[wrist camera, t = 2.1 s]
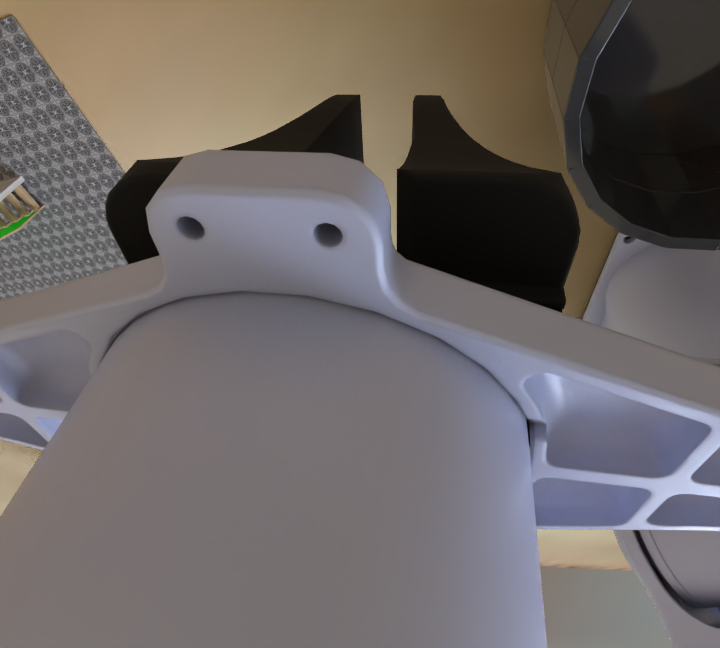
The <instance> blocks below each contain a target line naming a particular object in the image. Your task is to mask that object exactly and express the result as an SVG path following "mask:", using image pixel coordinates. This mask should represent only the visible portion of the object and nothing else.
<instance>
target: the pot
mask: <svg viewBox="0 0 720 648" xmlns="http://www.w3.org/2000/svg"><path fill="white" fill-rule="evenodd" d="M544 66H545V75H546V81H547V91H548V96H549V100H550V104H551V108H552V112H553V116H554V120H555V124H556V128H557V132H558V135H559V139H560V143H561V147H562V151H563V155H564V159H565V163H566V167H567V170H568V172H569V174H570V176H571V178H572V180H573V182H574V183H575V185H576V187H577V189H578V191H579V193H580V195H581V197H582V198H583V200H584V202H585V204H586V206H587V207H588V208H589V209H590V210H591V211H593V212H594V213H595V214H596V215H598V216H599V217H600V218H602V219H603V220H604V221H605V222H607V223H608V224H609V225H610V226H612V227H613V228H614V229H616V230H617V231H618V232H619V233H622V234H624V235H627V236H630V237H633V238H636V239H639V240H642V241H645V242H648V243H651V244H654V245H657V246H660V247H663V248H664V247H665V248H672V249H692V250H712V251H716V250H720V0H553V1H552V5H551V9H550V13H549V17H548V20H547V27H546V34H545V41H544Z"/></svg>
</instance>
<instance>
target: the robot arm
mask: <svg viewBox="0 0 720 648" xmlns="http://www.w3.org/2000/svg"><path fill="white" fill-rule="evenodd" d="M105 211H106V220H107V222H108V225H109V227H110V230H111V233H112V235H113V236H114V238H115V240H116V242H117V244H118V246H119V248H120V250H121V252H122V253H123V255H124V257H125V259H126V261H127V263H128V265H124V266H121V267H117V268H114V269H110V270H107V271H104V272H100V273H97V274H93V275H90V276H86V277H83V278H79V279H76V280H72V281H69V282H65V283H62V284H58V285H55V286H51V287H48V288H44V289H41V290H38V291H34V292H31V293H27V294H24V295H20V296H17V297H13V298H10V299H6V300H3V301H0V439H1V440H5V441H9V442H13V443H17V444H21V445H25V446H29V447H32V448H36V449H40V450H43V452H42V453H41V455H40V456H39V458H38V459H37V461H36V462H35V464H34V466H33V467H32V469H31V470H30V472H29V473H28V475H27V476H26V478H25V479H24V481H23V482H22V484H21V485H20V487H19V489H18V490H17V492H16V493H15V495H14V496H13V498H12V499H11V501H10V502H9V504H8V505H7V507H6V508H5V510H4V511H3V513H2V515H1V516H0V648H547V641H546V629H545V619H544V607H543V596H542V584H541V573H540V562H539V551H538V539H537V529H569V530H614V533H615V536H616V539H617V541H618V543H619V546H620V548H621V550H622V552H623V554H624V556H625V558H626V560H627V561H628V563H629V565H630V566H631V568H632V570H633V571H634V572H635V574H636V575H637V577H638V578H639V579H640V580H641V582H642V584H643V585H644V587H645V589H646V590H647V593H648V595H649V596H650V599H651V600H652V603H653V605H654V607H655V609H656V611H657V613H658V615H659V617H660V620H661V622H662V624H663V627H664V629H665V632H666V633H667V635H668V637H669V638H670V640H671V642H672V645H673V648H720V250H716V251H712V250H692V249H672V248H665V247H664V248H663V247H660V246H657V245H654V244H651V243H648V242H645V241H642V240H639V239H636V238H633V237H631V238H629V239H624V238H625V237H627V235H624V234H622V233H619V232H618V235H617V237H616V239H615V242H614V244H613V247H612V249H611V251H610V254H609V256H608V259H607V261H606V263H605V266H604V268H603V270H602V273H601V275H600V278H599V280H598V282H597V285H596V287H595V290H594V292H593V294H592V297H591V299H590V302H589V304H588V306H587V309H586V311H585V314H584V316H583V318H582V319H579V318H576V317H573V316H570V315H567V314H564V313H563V312H562V309H564V307H565V303H566V297H565V291H564V285H565V282H566V279H567V276H568V273H569V270H570V267H571V265H572V262H573V259H574V256H575V253H576V250H577V248H578V243H579V237H580V231H581V230H580V225H579V218H578V213H577V210H576V206H575V203H574V200H573V198H572V196H571V193H570V191H569V189H568V187H567V185H566V183H565V181H564V179H563V177H562V174H561V173H558V172H552V171H547V170H541V169H536V168H531V167H527V166H524V165H521V164H518V163H514V162H512V161H509V160H507V159H504V158H502V157H500V156H498V155H496V154H494V153H492V152H491V151H489V150H487V149H486V148H484V147H483V146H481V145H480V144H479V143H477V142H476V141H475V140H473V139H472V138H471V137H470V136H469V135H468V134H467V133H466V132H465V131H464V130H463V129H462V128H461V127H460V126H459V124H458V123H457V122H456V120H455V119H454V118H453V116H452V114H451V113H450V111H449V110H448V108H447V106H446V104H445V101H444V99H443V98H442V97H441V96H436V95H416V96H415V98H414V100H413V127H412V145H411V148H410V151H409V154H408V157H407V159H406V160H405V162H404V164H403V165H402V166H401V167H400V168H399V169H397V251H396V249H395V247H394V245H393V243H392V237H391V209H390V203H389V200H388V197H387V194H386V191H385V188H384V184H383V181H382V180H380V179H379V178H378V177H377V176H376V175H375V174H374V173H373V172H372V171H371V170H370V169H368V168H367V167H366V166H365V165H364V160H363V141H362V122H361V103H360V95H335V96H332V97H330V98H328V99H327V100H325V101H323V102H322V103H320V104H319V105H317V106H316V107H314V108H312V109H311V110H309V111H308V112H306V113H305V114H303V115H301V116H300V117H298V118H296V119H295V120H293V121H291V122H289V123H287V124H286V125H284V126H282V127H280V128H278V129H277V130H274V131H272V132H270V133H268V134H266V135H264V136H261V137H259V138H256V139H254V140H251V141H248V142H246V143H242V144H239V145H235V146H232V147H228V148H225V149H221V150H206V151H202V152H198V153H195V154H191V155H187V156H184V157H176V158H163V159H150V160H137V161H136V162H135V163H134V165H133V166H132V167H131V168H130V169H129V170H128V171H127V173H126V174H125V175H124V176H123V177H122V178H121V179H120V181H119V182H118V183H117V184H116V185H115V186H114V187H113V188H112V190H111V191H110V192H109V194H108V197H107V200H106V203H105Z"/></svg>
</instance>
